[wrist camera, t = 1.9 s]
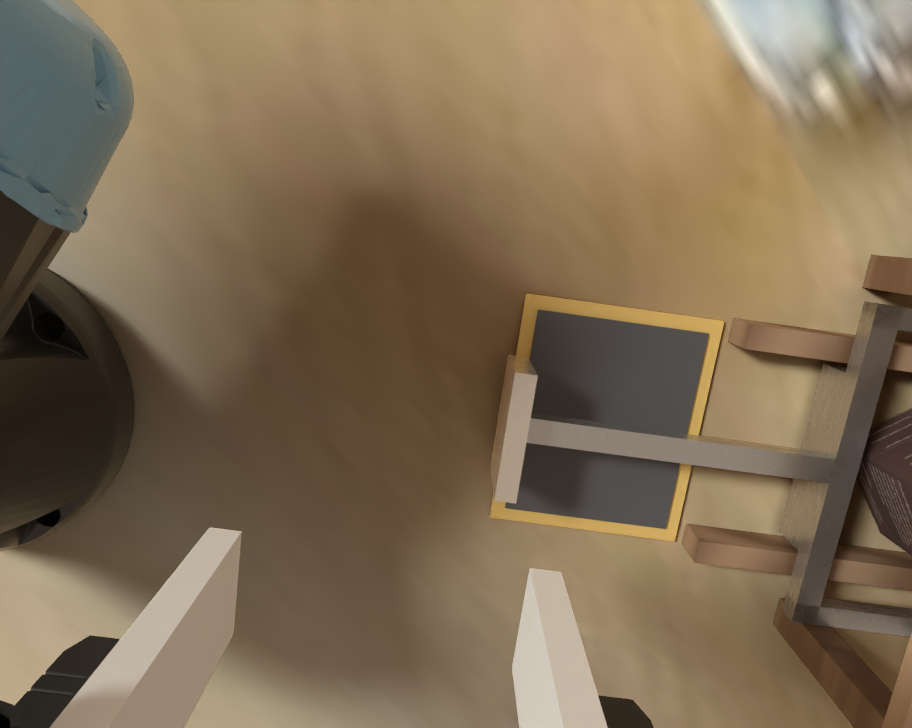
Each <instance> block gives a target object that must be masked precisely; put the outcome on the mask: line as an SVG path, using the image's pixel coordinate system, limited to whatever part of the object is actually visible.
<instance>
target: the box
mask: <svg viewBox="0 0 912 728" xmlns="http://www.w3.org/2000/svg"><path fill="white" fill-rule="evenodd" d="M856 478H857V481H858V483H859V485H860V488H861V490H862V492H863V494H864V497H865V499H866V501H867V504H868V506H869V508H870V510H871V513H872V515H873V517H874V519H875V521H876V524H877V526H878V528H879V531H880V533H881V534H883V535H884V536H885V537H887V538H888V539H890V540H891V541H892V542H894V543H895V544H896V545H898V546H899V547H901V548H902V549H903V550H905V551H906V552H907V553H908V554H910V555H911V556H912V408H911V409H908V410H906V411H905V412H903V413H900V414H898V415H896V416H894V417H892V418H890V419H887V420H886V421H883V422H881V423H879V424H877V425H875V426H872V427H870V431H869V434H868V438H867V442H866V445H865V449H864V452H863V456H862V459H861V463H860V466H859V470H858V474H857V477H856Z"/></svg>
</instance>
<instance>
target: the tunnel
mask: <svg viewBox="0 0 912 728" xmlns="http://www.w3.org/2000/svg"><path fill="white" fill-rule="evenodd" d="M863 287H864V288H870V289H876V290H882V291H888V292H894V293H900V294H906V295H912V258H901V257H889V256H878V255H871V258H870V262H869V266H868V269H867V273H866V277H865V281H864V285H863ZM855 336H856V335H849V334H842V333H835V332H828V331H821V330H814V329H807V328H800V327H793V326H785V325H778V324H771V323H764V322H757V321H750V320H743V319H736V318H733V323H732V327H731V332H730V336H729V340H728V342H730V343H732V344H735V345H737V346H739V347H741V348H744V349H748V350H755V351H762V352H770V353H777V354H784V355H791V356H798V357H806V358H813V359H820V360H827V361H834V362H841V363H848V362H849V359H850V355H851V351H852V347H853V344H854V340H855ZM887 369H892V370H899V371H906V372H912V343H906V342H899V341H895V342H894V345H893V349H892V352H891V356H890V360H889V363H888V367H887ZM682 545H683V546H684V548H685V549H686V551H687V552H688V554H689V555H690V557H691V558H692V559H693V561H694V562H695V563H701V564H708V565H716V566H724V567H731V568H739V569H747V570H755V571H762V572H770V573H778V574H786V575H792V571H793V567H794V564H795V560H796V556H797V553H798V549H797V548H796V547H795V546H794V545H793V544H792V543H791V542H789V541H788V540H787V539H786V538H785V537H783V536H776V535H768V534H761V533H753V532H745V531H738V530H730V529H722V528H715V527H707V526H700V525H692V524H686V529H685V533H684V538H683V542H682ZM828 580H832V581H840V582H847V583H855V584H863V585H871V586H878V587H886V588H894V589H902V590H909V591H912V556H911V555H910V554H908V553H906V552H898V551H890V550H883V549H875V548H867V547H860V546H852V545H845V544H838V545H837V548H836V552H835V555H834V559H833V563H832V566H831V570H830V573H829V577H828ZM784 601H785V599H783V598H780V600H779V604H778V608H777V611H776V615H775V619H774V623H773V624H774V626H775V627H776V628H777V630H778V631H779V632H780V633H781V635H782V636H783V637H784V639H785V640H786V641H787V642H788V644H789V645H790V646H791V647H792V649H793V650H794V651H795V653H796V654H797V655H798V656H799V658H800V659H801V660H802V661H803V663H804V664H805V665H806V667H807V668H808V669H809V670H810V672H811V673H812V674H813V675H814V677H815V678H816V679H817V681H818V682H819V683H820V684H821V686H822V687H823V688H824V690H825V691H826V692H827V693H828V695H829V696H830V697H831V698H832V700H833V701H834V702H835V704H836V705H837V706H838V707H839V709H840V710H841V711H842V712H843V714H844V715H845V716H846V718H847V719H848V720H849V721H850V723H851V724H852V725H853V727H854V728H912V633H911V636H910V639H909V642H908V646H907V649H906V652H905V655H904V658H903V662H902V665H901V668H900V671H899V674H898V677H897V681H896V684H895V687H894V690H893V693H892V692H891V691H890V690H889V689H888V688H887V686H886V685H885V684H884V683H883V682H882V681H881V680H880V679H879V678H878V677H877V676H876V675H875V673H874V672H873V671H872V670H871V669H870V668H869V667H868V666H867V665H866V664H865V663H864V661H863V660H862V659H861V658H860V657H859V656H858V655H857V654H856V653H855V652H854V651H853V650H852V648H851V647H850V646H849V645H848V644H847V643H846V642H845V641H844V640H843V639H842V638H841V637H840V635H839V634H838V633H837V632H836V631H835V630H834V629H833V628H832V627H828V626H820V625H812V624H804V623H797V622H791V621H790V619H789V618H788V617H787V616H786V615H785V613H784V612H783V611H782V609H783V605H784Z"/></svg>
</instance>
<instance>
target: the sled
mask: <svg viewBox="0 0 912 728" xmlns="http://www.w3.org/2000/svg"><path fill="white" fill-rule="evenodd" d="M898 330H902V331H909V332H912V308H906V307H899V306H892V305H885V304H878V303H870V302H865V303H864V306H863V310H862V314H861V317H860V321H859V325H858V329H857V332H856V336H855V340H854V344H853V347H852V351H851V355H850V359H849V362H848V366H847V367H842V366H835V365H828V364H823V366H822V370H821V374H820V378H819V382H818V386H817V389H816V393H815V397H814V401H813V405H812V409H811V413H810V416H809V420H808V424H807V428H806V432H805V436H804V439H803V443H802V447H801V449H796V448H789V447H781V446H774V445H767V444H759V443H752V442H744V441H737V440H730V439H722V438H715V437H707V436H700V435H693V434H685V433H678V432H670V431H663V430H656V429H648V428H641V427H633V426H626V425H619V424H611V423H604V422H596V421H589V420H582V419H574V418H567V417H559V416H552V415H545V414H537V413H532V407H533V401H534V395H535V390H536V384H537V378H538V375H537V373H536V371H535V369H534V367H533V365H532V363H531V362H530V360H529V358H528V357H524V356H516V355H509V354H508V358H507V364H506V371H505V377H504V383H503V389H502V396H501V402H500V408H499V414H498V421H497V427H496V433H495V440H494V446H493V452H492V458H491V465H490V473H491V481H492V488H493V495H494V501H500V502H508V503H515V504H516V501H517V495H518V490H519V484H520V478H521V472H522V466H523V460H524V454H525V448H526V443H532V444H540V445H547V446H555V447H562V448H570V449H577V450H585V451H592V452H599V453H607V454H614V455H622V456H629V457H637V458H644V459H652V460H659V461H667V462H674V463H682V464H689V465H697V466H704V467H712V468H719V469H727V470H734V471H742V472H749V473H757V474H764V475H772V476H779V477H786V478H793V482H792V486H791V489H790V493H789V497H788V501H787V505H786V509H785V513H784V516H783V520H782V524H781V528H780V533H781V534H782V535H783V536H784V537H785V538H786V539H787V540H788V541H789V542H791V543H792V544H793V545H794V546H795V547H796V548H797V549H798V553H797V556H796V560H795V564H794V567H793V571H792V575H791V579H790V582H789V586H788V590H787V594H786V597H785V601H784V605H783V609H782V611H783V612H784V613H785V615H786V616H787V617H788V618H789V619H790V621H791V622H797V623H804V624H812V625H820V626H828V627H836V628H844V629H852V630H859V631H867V632H875V633H883V634H891V635H899V636H907V637H910V636H911V633H912V609H908V608H900V607H892V606H885V605H877V604H869V603H861V602H854V601H846V600H838V599H830V598H823V595H824V591H825V588H826V584H827V580H828V577H829V573H830V570H831V566H832V563H833V559H834V555H835V552H836V548H837V545H838V541H839V538H840V534H841V531H842V527H843V523H844V520H845V516H846V513H847V509H848V506H849V502H850V498H851V495H852V491H853V488H854V484H855V481H856V477H857V474H858V470H859V466H860V463H861V459H862V456H863V452H864V449H865V445H866V442H867V438H868V434H869V431H870V427H871V424H872V420H873V417H874V413H875V409H876V406H877V402H878V399H879V395H880V392H881V388H882V385H883V381H884V377H885V374H886V370H887V367H888V363H889V360H890V356H891V352H892V349H893V345H894V342H895V338H896V335H897V331H898Z"/></svg>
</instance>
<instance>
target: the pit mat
mask: <svg viewBox="0 0 912 728" xmlns="http://www.w3.org/2000/svg"><path fill="white" fill-rule="evenodd" d="M723 326H724V321H721V320H714V319H707V318H700V317H693V316H685V315H678V314H671V313H664V312H657V311H650V310H643V309H636V308H628V307H621V306H614V305H607V304H600V303H593V302H586V301H579V300H571V299H564V298H557V297H550V296H543V295H536V294H529V293H526V295H525V301H524V308H523V314H522V320H521V326H520V332H519V338H518V345H517V351H516V356H524V357H528V358H529V360H530V362H531V363H532V365H533V367H534V369H535V371H536V373H537V375H538V378H537V384H536V390H535V395H534V401H533V407H532V413H537V414H545V415H552V416H559V417H567V418H574V419H582V420H589V421H596V422H604V423H611V424H619V425H626V426H633V427H641V428H648V429H656V430H663V431H670V432H678V433H685V434H693V435H699V432H700V427H701V423H702V419H703V414H704V410H705V405H706V401H707V396H708V392H709V388H710V383H711V379H712V374H713V370H714V365H715V361H716V357H717V352H718V348H719V343H720V339H721V334H722V330H723ZM691 467H692V465H689V464H682V463H674V462H667V461H659V460H652V459H644V458H637V457H629V456H622V455H614V454H607V453H599V452H592V451H585V450H577V449H570V448H562V447H555V446H547V445H540V444H532V443H526V448H525V454H524V460H523V466H522V472H521V478H520V484H519V490H518V495H517V501H516V504H515V503H508V502H500V501H494V495H493V499H492V505H491V512H490V517H491V518H499V519H506V520H514V521H522V522H529V523H537V524H545V525H552V526H560V527H568V528H575V529H583V530H591V531H598V532H606V533H614V534H622V535H629V536H637V537H645V538H652V539H660V540H668V541H675V538H676V534H677V529H678V525H679V521H680V516H681V512H682V507H683V503H684V498H685V494H686V490H687V485H688V481H689V476H690V472H691Z"/></svg>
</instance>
